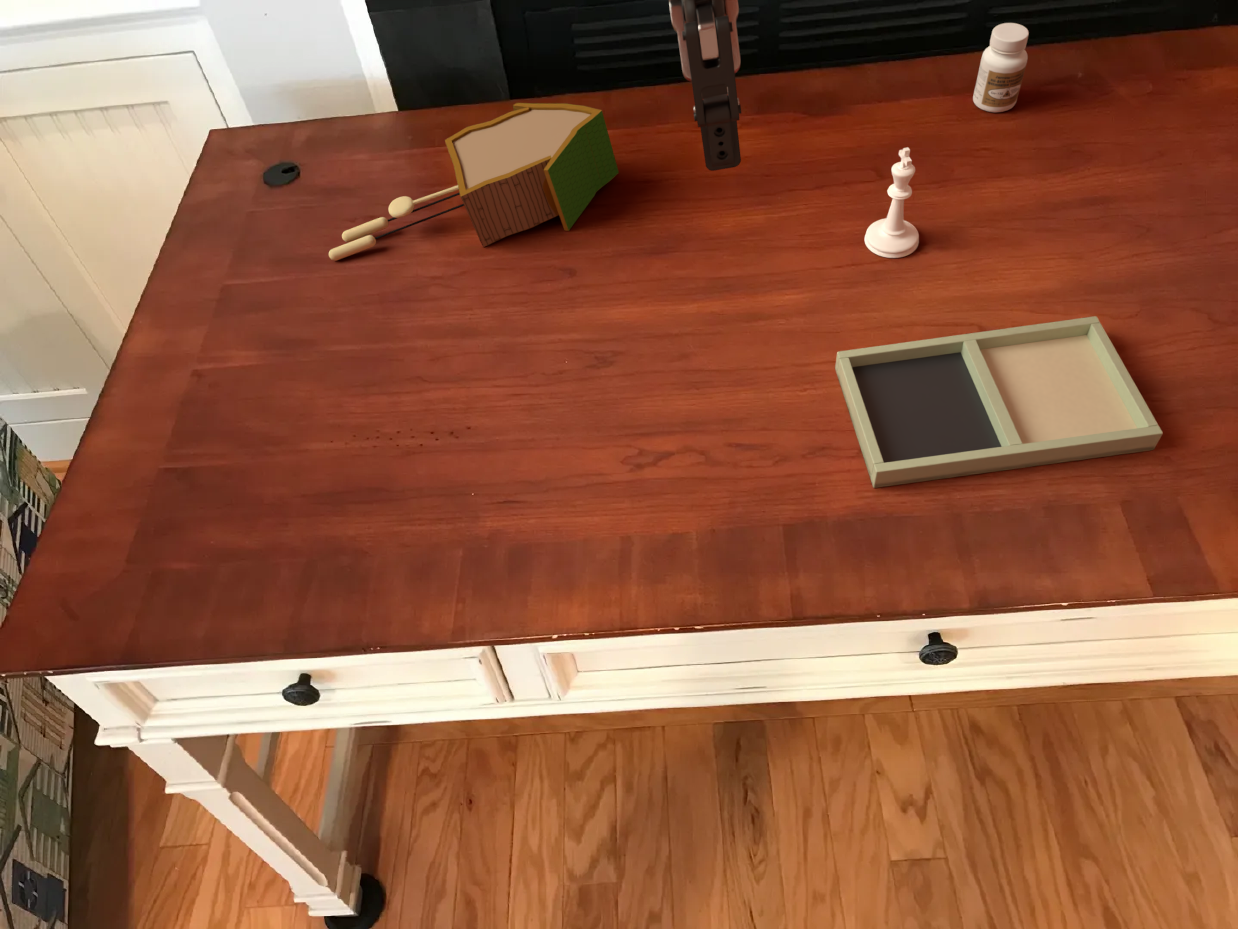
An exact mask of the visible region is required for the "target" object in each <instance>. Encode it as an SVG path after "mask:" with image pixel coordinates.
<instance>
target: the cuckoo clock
mask: <svg viewBox="0 0 1238 929" xmlns="http://www.w3.org/2000/svg"><path fill="white" fill-rule="evenodd" d="M512 108H513V110H512V111H509V112H507V113H504V114H502V115H500V116H498V117H495V118H493V119H492V120H489V121H483V122H481V123H480V122H479V123H476V124H473V125H469V126H466V127H465V128H463V129H461V130H459V131H458V132H456V133H455V134H453V135H451V136H449V137H447V138H446V139H444V142H445V146H446V148H447V152H448V154H449V157H450V160H451V162H452V165H453V169H454V173H455V179H456V183H457V184H456V185H454V186H452V187H449V188H446V189H443V190H440V191H437V192H434V193H431V194H428V195H426V196H422V197H419V198H416V199H414V200H413V198H411V197H410V196H408V195H404V196H399V197H396V198H395V199H393V200H392V201H391V202H390V203H389V205H388V214H389V216H391V218H387V217H384V216H380V217H379V218H378V217H377V218H375V219H373V220H370V221H367V222H365V223H362V224H360V225H357V226H353V227H352V228H349V229H346V230H344V231H343V232H342V234H341V238H342V240H343V241H344V242H345V243H343V244H342V245H339V246H336V247H333V248H331V249H330V250H329V252H328V257H329V259H330V260H331V261H335V262H337V261H339V260H342V259H344V258H347V257H350V256H353V255H355V254H358V253H360V252H363V251H366V250H368V249H371V248H373V247H375V246H376V245H377V240H378V239H381V238H384V237H386V236H389V235H391V234H394V233H397V232H399V231H402V230H405V229H407V228H410V227H412V226H415V225H418V224H421V223H423V222H425V221H429V220H431V219H433V218H436V217H439V216H441V215H444V214H447V213H450V212H452V211H454V210H457V209H460V208H463V207H464V208H465V210H466V212H467V215H468V217H469V219H470V221H471V223H472V227H473V229H474V230H475V232H476V235H477V237H478V240H479V242H480V244H481V246H482V248H485V247H487V246H490V245H491V244H493V243H496V242H497V241H501V240H502V239H504V238H506V237H509V236H511V235H515V234H517V233H520V232H523V231H526V230H530V229H532V228H534V227H536V226H538V225H540V224H542V223H544V222H547V221H550V220H552V219H554V218H556V217H558V216H559V219H560V222H561V225H562V227H563V230H564V231H565V232H569V231H570V230H571V229H572V227H573V226H574V224H575V223H576V222H577V220H578V219H579V218H580V216H581V215H582V214H583V212H584V211H585V210H586V208H587V207H588V205H589V204H590V203H591V202H592V200H593V198H595V196H596V194H597V192H598V191H599V190H600V189H602V188H603V187H604V186H605V185H607V184H608V183H610V182H611V181H612V180H613V179H615V177H616V176H617V175H618V174H619V173H620V172H619V168H618V164H617V159H616V156H615V154H614V149H613V145H612V142H611V139H610V134H609V131H608V127H607V124H606V120H605V116H604V112H603V110H602V109H599V108H595V107H592V106H587V105H579V104H571V103H549V102H547V103H542V102H541V103H537V102H536V103H530V102H529V103H528V102H516V103H514V104H512ZM456 191H458V192H457V193H454V192H456ZM451 193H454V194H451ZM448 194H451V195H449V196H445V195H448ZM442 196H445V197H444V198H441V199H439V200H436V201H433V202H430V203H427V204H425V205H422V206H419V207H417V208H415V206H416V205H419V204H422V203H425V202H428V201H430V200H433V199H437V198H439V197H442ZM457 196H459V197H460V199H461V202H462V204H461V203H460V204H459V205H456V206H454V207H451V208H448V209H445V210H443V211H441V212H438V213H436V214H432V215H429V216H427V217H425V218H422V219H420V220H416V221H414V222H411V223H409V224H406V225H404V226H401V227H398V228H396V229H393V230H391V231H389V232H386V233H383V234H381V235H378V236H374V235H372V234H375V233H378V232H380V231H383V230H386V229H387V228H388V227H389V224H390V222H392V221H394V220H397V219H401V218H404V217H407V216H409V215H410V214H413V213H415V212H417V211H421V210H424V209H426V208H429V207H432V206H435V205H436V204H439V203H442V202H444V201H446V200H449V199H452V198H455V197H457Z"/></svg>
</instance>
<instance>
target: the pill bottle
mask: <svg viewBox="0 0 1238 929" xmlns="http://www.w3.org/2000/svg"><path fill="white" fill-rule="evenodd" d="M1029 33H1030V32H1029V30H1028V28H1027V27H1026V26H1024V25H1022V24H1019V23H1016V22H1004V23H1000V24H998V25H996V26H995V27H993V29H992V31H991V35H990V39H989V46H988V47H986V48H985V49H984V50H983V52H982V55H981V59H980V63H979V68H978V72H977V77H976V81H975V86H974V90H973V96H972V101H973V103H974V105H975V106H976V107H977V108H979V109H980V110H982V111H985V112H988V113H1003V112H1006V111H1009V110H1011V109H1013V108H1014V106H1016V104H1017V101H1018V97H1019V94H1020V90H1021V87H1022V83H1023V79H1024V75H1025V71H1026V67H1027V64H1028V58H1029V56H1028V53H1027V51H1026V48H1027V43H1028V39H1029Z"/></svg>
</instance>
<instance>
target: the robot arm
mask: <svg viewBox="0 0 1238 929" xmlns="http://www.w3.org/2000/svg"><path fill="white" fill-rule="evenodd" d="M668 5H669V7H668V8H669V13H670V20H671V25H672V26H671V27H672V28H673V30H674V31H675V32H676V33H677V42H678V48H679V55H680V64H681V70H682V71H681V72H682V75H683V77H684V79H685V80H686V81H689V82H690V83H691V86H692V87H691V88H692V94H693V101H694V105H693V106H692V109H693V119H694V122H696V123H697V127H698V128H700V134H701V142H702V150H703V156H704V162H705V163H704V164H705V168H706V169H707V170H709V171H712V172H714V171H720V170H726V169H733V168H736V167H738V166H739V165H740V163H741V161H742V156H741V148H740V139H739V138H740V137H739V128H738V121H740V115H741V114H742V106H741V104H740V98H739V97H738V93H737V92H738V91H737V81H736V73H738V71H739V70H740V68H741V53H740V45H739V36H738V27H737V21H738V18H739V14H740V13H739V12H740V8H739V7H740V6H739V0H668Z"/></svg>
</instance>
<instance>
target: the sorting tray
mask: <svg viewBox="0 0 1238 929" xmlns="http://www.w3.org/2000/svg"><path fill="white" fill-rule="evenodd" d="M1109 337H1110V336H1108V333H1107V332H1106V330H1105V328H1104V326H1103V325H1102V323H1101V321H1100V319H1099V318H1098V316H1096V315H1094V316H1087V317H1080V318H1071V319H1066V320H1057V321H1049V322H1042V323H1035V324H1028V325H1022V326H1021V325H1020V326H1014V327H1007V328H1000V329H999V328H998V329H992V330H984V331H977V332H972V333H970V332H969V333H963V334H956V335H955V334H954V335H948V336H942V337H941V336H940V337H933V338H925V339H919V340H911V341H906V342H905V341H904V342H898V343H890V344H883V345H875V346H869V347H861V348H854V349H847V350H840V351H837V352H836V358H835V365H834V370H835V373H836V376H837V380H838V382H839V385H840V389H841V391H842V395H843V397H844V401H845V404H846V407H847V410H848V414H849V417H850V421H851V423H852V427H853V429H854V433H855V435H856V438H857V442H858V444H859V447H860V448H859V449H860V450H861V454H862V457H863V460H864V463H865V466H866V470H867V472H868V475H869V479H870V481H871V485H872V488H874V489H876V488H883V487H890V486H891V487H892V486H898V485H906V484H913V483H914V484H915V483H921V482H928V481H935V480H943V479H951V478H958V477H965V476H973V475H980V474H987V473H994V472H1001V471H1008V470H1009V471H1010V470H1017V469H1022V468H1023V469H1025V468H1031V467H1038V466H1039V467H1040V466H1044V465H1045V466H1046V465H1053V464H1060V463H1068V462H1074V461H1076V462H1077V461H1082V460H1090V459H1097V458H1104V457H1105V458H1106V457H1111V456H1112V457H1113V456H1120V455H1127V454H1134V453H1141V452H1142V453H1143V452H1148V451H1154V450H1155V449H1156V446H1157V445H1158V443H1159V441H1160V439H1161V438H1162V436H1163V435H1164V434H1163V430H1162V428H1161V427H1160V425H1159V424H1158V422H1157V420H1156V418H1155V416H1154V414H1153V413H1152V411H1151V409H1150V408H1149V405H1148V404H1147V401H1145V399H1144V397H1143V395H1142V394H1141V392H1140V390H1139V388H1138V386H1137V385H1136V383H1135V381H1134V379H1133V377H1132V376H1131V374H1130V372H1129V370H1128V369H1127V367H1126V365H1125V364H1124V362H1123V360H1122V358H1121V356H1120V355H1119V353H1118V351H1117V349H1116V347H1115V346H1114V344H1113V342H1112V341H1111V339H1110V338H1109Z"/></svg>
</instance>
